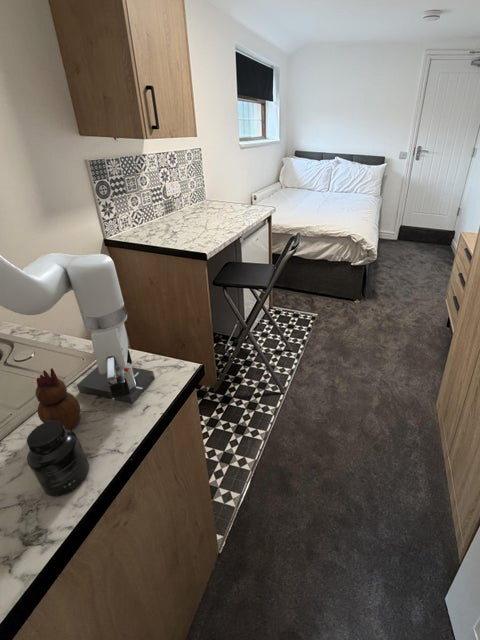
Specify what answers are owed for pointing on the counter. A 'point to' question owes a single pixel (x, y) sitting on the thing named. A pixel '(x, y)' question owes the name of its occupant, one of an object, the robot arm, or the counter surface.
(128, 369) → the hob knob
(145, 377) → the hob
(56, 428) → the supplement bottle
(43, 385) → the wooden figurine
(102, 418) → the counter surface
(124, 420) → the counter surface
